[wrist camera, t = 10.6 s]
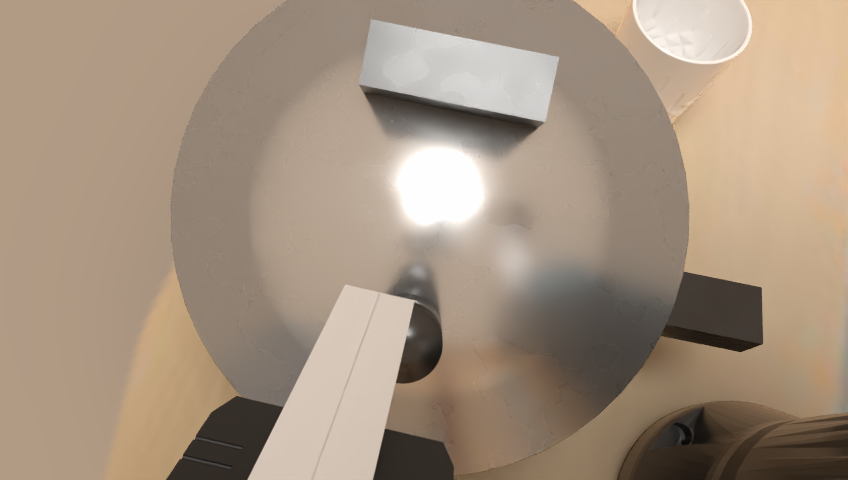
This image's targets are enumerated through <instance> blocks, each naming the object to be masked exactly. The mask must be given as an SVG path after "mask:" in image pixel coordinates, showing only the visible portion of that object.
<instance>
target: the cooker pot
mask: <svg viewBox="0 0 848 480" xmlns="http://www.w3.org/2000/svg"><path fill="white" fill-rule="evenodd" d="M661 336H664V337H669V338H674V339H679V340H684V341H689V342H694V343H699V344H704V345H709V346H713V347H718V348H723V349H728V350H733V351H738V352H742V351H745V350H748V349H751V348H753V347H756V346H759V345H762V344H763V326H762V288H761V287H756V286H751V285H746V284H742V283H737V282H732V281H727V280H722V279H717V278H712V277H707V276H702V275H697V274H692V273H687V272H683V276H682V280H681V283H680V286H679V290H678V293H677V297H676V300H675V303H674V307H673V309H672V311H671V314H670V316H669V318H668V320H667V323H666V325H665V327H664V329H663V332H662V334H661Z"/></svg>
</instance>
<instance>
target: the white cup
mask: <svg viewBox="0 0 848 480" xmlns="http://www.w3.org/2000/svg"><path fill="white" fill-rule="evenodd" d="M751 34H752V19H751V15H750V12H749V10H748V7H747V6H746V4H745V2H744V1H743V0H631V2H630V4H629V6H628V8H627V10H626V13H625V15H624V17H623V19H622V21H621V23H620V25H619V28H618V30H617V32H616V34H615V37H616V38H617V39H618V40H619V41H620V42H621V43H622V44H623V45H624V46H625V47H626V48H627V49H628V50H629V52H630V53H631V54H632V56H633V57H634V58H635V60H636V61H637V62H638V64H639V65H640V66H641V68H642V69H643V70H644V72H645V73H646V75H647V76H648V77H649V79H650V81H651V83H652V85H653V86H654V88H655V90H656V92H657V94H658V95H659V97H660V99H661V101H662V103H663V105H664V106H665V109H666V111H667V114H668V116H669V119H670V121H671V124H672V123H673V122H674V121H675V120H676V119H677V118H678V116H679V115H680V114H682V113H683V112H684V111H685V110H686V109H688V108H689V107H690V106H691V105H692V104H693V102H694V101H695V100H696V99H697V98H698V97H699V96H700V95H702V94H703V93H704V92H705V90H706V89H707V88H708V87H709V86H710V85H711V84H712V83H713V82H714V81H715V80H716V79H717V78H718V76H719V75H720V74H721V73H722V72H723V71H724V70H725V69H726V68H727V67H728V66H729V65H730V64H731V63H732V62H733V60H734V59H735V58H736V57H737V56H738V55H739V54H740V53H741V52H742V51H743V50H744V49H745V47H746V46H747V44H748V43H749V40H750V38H751Z"/></svg>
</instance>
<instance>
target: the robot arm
mask: <svg viewBox="0 0 848 480" xmlns="http://www.w3.org/2000/svg"><path fill="white" fill-rule="evenodd" d="M414 302H415V300H411V299H406V298H402V297H398V296H393V295H389V294H385V293H380V292H376V291H372V290H367V289H363V288H358V287H354V286H350V285H345V286H344V288H343V290H342V292H341V294H340V296H339V298H338V300H337V302H336V304H335V306H334V308H333V310H332V312H331V314H330V316H329V318H328V320H327V322H326V324H325V326H324V328H323V330H322V332H321V334H320V336H319V338H318V340H317V342H316V344H315V346H314V348H313V350H312V352H311V354H310V356H309V358H308V360H307V362H306V364H305V366H304V368H303V370H302V372H301V374H300V376H299V378H298V380H297V382H296V384H295V386H294V388H293V390H292V392H291V394H290V396H289V398H288V400H287V402H286V404H285V406H284V407H281V406H277V405H273V404H268V403H264V402H260V401H255V400H251V399H247V398H242V397H238V396H236V397H234V398H233V399H231V400H230V401H228V402H227V403H225V404H224V405H222V406H221V407H219V408H218V409H216V410H215V411H213V412H212V413H211V414H210V416H209V417H208V418H207V420H206V421H205V423H204V424H203V426H202V427H201V429H200V430H199V432H198V433H197V435H196V438H195V440H193V441H192V442H191V444H190V445H189V447H188V448H187V450H186V451H185V453H184V454H183V458H182V459H180V460H179V462H178V463H177V464H176V466H175V467H174V469H173V470H172V472H171V473H170V475H169V476H168V478H167V479H166V480H453V476H454V466H453V463H452V461H451V459H450V456H449V454H448V452H447V450H446V447H445V445H444V443H443V442H441V441H436V440H432V439H428V438H423V437H419V436H415V435H410V434H406V433H402V432H398V431H393V430H389V429H385V428H386V424H387V419H388V415H389V411H390V407H391V402H392V398H393V393H394V389H395V385H396V380H397V376H398V372H399V367H400V363H401V358H402V354H403V350H404V345H405V341H406V337H407V332H408V328H409V323H410V319H411V315H412V310H413V306H414ZM618 480H848V413H840V414H833V415H825V416H817V417H810V418H804V419H800V418H797V417H794V416H791V415H788V414H785V413H783V412H780V411H777V410H774V409H771V408H768V407H765V406H761V405H757V404H753V403H747V402H737V401H718V402H710V403H704V404H700V405H696V406H692V407H688V408H684V409H681V410H678V411H676V412H673V413H671V414H669V415H667V416H665V417H663V418H662V419H660V420H659V421H657V422H656V423H655V424H653V425H652V426H651V427H650V428H649V429H648V430H647V431H645V432H644V433H643V435H642V436H641V437H640V438H639V439H638V440H637V442H636V443H635V444H634V446H633V447H632V449H631V451H630V452H629V454H628V456H627V458H626V460H625V462H624V464H623V466H622V469H621V472H620V475H619V478H618Z"/></svg>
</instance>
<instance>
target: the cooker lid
mask: <svg viewBox="0 0 848 480" xmlns="http://www.w3.org/2000/svg"><path fill="white" fill-rule="evenodd" d="M688 236H689V200H688V191H687V181H686V172H685V168H684V164H683V160H682V156H681V152H680V148H679V144H678V140H677V137H676V134H675V132H674V129H673V127H672V124H671V121H670V119H669V116H668V114H667V111H666V109H665V106H664V105H663V103H662V101H661V99H660V97H659V95H658V94H657V92H656V90H655V88H654V86H653V85H652V83H651V81H650V79H649V77H648V76H647V75H646V73H645V72H644V70H643V69H642V68H641V66H640V65H639V64H638V62H637V61H636V60H635V58H634V57H633V56H632V54H631V53H630V52H629V50H628V49H627V48H626V47H625V46H624V45H623V44H622V43H621V42H620V41H619V40H618V39H617V38H616V37H615V36H614V35H613V34H612V32H611V31H610V30H609V29H608V28H607V27H606V26H605V25H604V24H603V23H601V22H600V21H599V20H597V19H596V18H595V17H594V16H592V15H591V14H590V13H589V12H587V11H586V10H585V9H583V8H582V7H581V6H580V5H578V4H577V3H576V2H574V1H572V0H287V1H286V2H284V3H282V4H281V5H280V6H279V7H277V8H276V9H275V10H274V11H272V12H271V13H270V14H269V15H267V16H266V17H265V18H264V19H262V20H261V21H260V22H258V23H257V24H256V25H255V26H254V27H253V28H252V29H251V30H250V31H249V32H248V33H247V34H246V36H244V37H243V38H242V39H241V40H240V41H239V42H238V44H237V45H236V46H235V47H234V48H233V49H232V50H231V51H230V53H229V54H228V55H227V57H226V58H225V59H224V61H223V62H222V63H221V65H220V66H219V68H218V69H217V70H216V72H215V73H214V74H213V75H212V77H211V79H210V81H209V82H208V84H207V86H206V88H205V89H204V91H203V93H202V95H201V97H200V99H199V100H198V102H197V104H196V106H195V108H194V110H193V113H192V116H191V118H190V121H189V124H188V126H187V128H186V131H185V133H184V136H183V138H182V143H181V147H180V151H179V155H178V159H177V163H176V167H175V171H174V179H173V188H172V196H171V241H172V247H173V255H174V262H175V268H176V274H177V277H178V281H179V284H180V288H181V291H182V295H183V298H184V302H185V305H186V307H187V310H188V312H189V314H190V317H191V319H192V321H193V324H194V326H195V328H196V331H197V333H198V335H199V337H200V339H201V340H202V342H203V344H204V345H205V347H206V349H207V350H208V352H209V354H210V355H211V357H212V359H213V361H214V362H215V364H216V365H217V366H218V368H219V369H220V370H221V372H222V373H223V374H224V375H225V377H226V378H227V379H228V381H229V382H230V383H231V384H232V386H233V387H234V388H235V389H236V391H237V392H238V393H239V394H240V395H241V396H242V397H243V398H247V399H251V400H255V401H260V402H264V403H268V404H273V405H277V406H281V407H284V406H285V404H286V402H287V400H288V398H289V396H290V394H291V392H292V390H293V388H294V386H295V384H296V382H297V380H298V378H299V376H300V374H301V372H302V370H303V368H304V366H305V364H306V362H307V360H308V358H309V356H310V354H311V352H312V350H313V348H314V346H315V344H316V342H317V340H318V338H319V336H320V334H321V332H322V330H323V328H324V326H325V324H326V322H327V320H328V318H329V316H330V314H331V312H332V310H333V308H334V306H335V304H336V302H337V300H338V298H339V296H340V294H341V292H342V290H343V288H344V286H345V285H350V286H354V287H358V288H363V289H367V290H372V291H376V292H380V293H385V294H389V295H393V296H398V297H402V298H406V299H411V300H415V302H414V306H413V310H412V315H411V319H410V323H409V328H408V332H407V337H406V341H405V345H404V350H403V354H402V358H401V363H400V367H399V372H398V376H397V380H396V385H395V389H394V393H393V398H392V402H391V407H390V411H389V415H388V419H387V424H386V428H385V429H389V430H393V431H398V432H402V433H406V434H410V435H415V436H419V437H423V438H428V439H432V440H436V441H441V442H443V443H444V445H445V447H446V450H447V452H448V454H449V456H450V459H451V461H452V463H453V466H454V475H462V474H470V473H478V472H482V471H486V470H490V469H494V468H498V467H502V466H505V465H509V464H512V463H514V462H517V461H520V460H522V459H525V458H527V457H530V456H532V455H535V454H537V453H540V452H542V451H544V450H545V449H547V448H549V447H551V446H553V445H554V444H556V443H558V442H560V441H562V440H564V439H565V438H567V437H569V436H570V435H572V434H573V433H575V432H576V431H577V430H579V429H580V428H581V427H583V426H584V425H585V424H587V423H588V422H590V421H591V420H592V419H594V418H595V417H596V416H597V415H598V414H600V413H601V412H602V411H603V410H604V409H605V408H606V407H607V406H608V405H609V404H610V403H611V402H612V401H613V400H614V399H615V398H616V397H617V396H618V395H619V394H620V393H621V392H622V391H623V390H624V389H625V387H626V386H627V385H628V384H629V382H630V381H631V380H632V379H633V377H634V376H635V375H636V374H637V372H638V371H639V370H640V369H641V368H642V366H643V364H644V363H645V361H646V360H647V358H648V356H649V355H650V353H651V351H652V350H653V348H654V346H655V345H656V343H657V342H658V340H659V338H660V336H661V334H662V332H663V329H664V327H665V325H666V323H667V320H668V318H669V316H670V314H671V311H672V309H673V307H674V303H675V300H676V297H677V293H678V290H679V286H680V283H681V280H682V276H683V272H684V265H685V259H686V253H687V246H688Z"/></svg>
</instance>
